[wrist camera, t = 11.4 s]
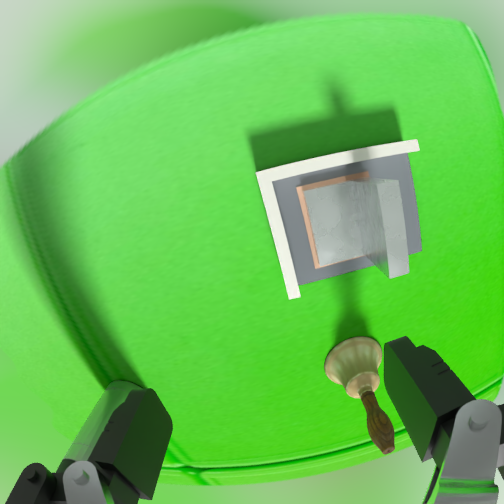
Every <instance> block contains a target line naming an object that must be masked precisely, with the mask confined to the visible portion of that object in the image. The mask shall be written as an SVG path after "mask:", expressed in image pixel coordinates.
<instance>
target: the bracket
mask: <svg viewBox="0 0 504 504" xmlns="http://www.w3.org/2000/svg"><path fill="white" fill-rule="evenodd" d="M303 195H304V200H305V204H306V208H307V212H308V217H309V221H310V226H311V230H312V235H313V240H314V244H315V249H316V254H317V259H318V264H319V265H320V266H324V265H328V264H332V263H336V262H340V261H344V260H348V259H351V258H355V257H359V256H363V255H364V256H366V257H367V258H368V259H369V260H370V261H371V262H372V263H373V264H374V265H375V266H376V267H378V268H379V269H380V270H381V271H382V272H383V273H384V274H385V275H386V276H387V277H388V278H389V279H391V278H394V277H397V276H401V275H404V274H407V273H409V260H408V248H407V238H406V228H405V220H404V213H403V206H402V199H401V193H400V187H399V181H398V180H391V179H381V178H371V177H363V178H358V179H353V180H348V181H344V182H339V183H334V184H330V185H325V186H321V187H316V188H312V189H308V190H303Z"/></svg>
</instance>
